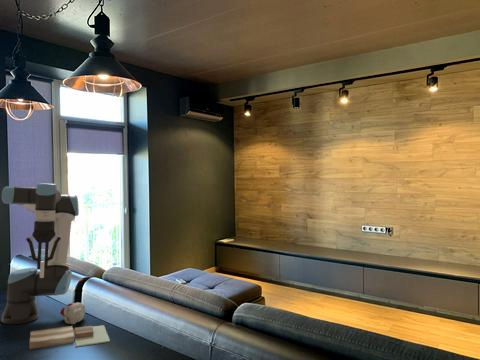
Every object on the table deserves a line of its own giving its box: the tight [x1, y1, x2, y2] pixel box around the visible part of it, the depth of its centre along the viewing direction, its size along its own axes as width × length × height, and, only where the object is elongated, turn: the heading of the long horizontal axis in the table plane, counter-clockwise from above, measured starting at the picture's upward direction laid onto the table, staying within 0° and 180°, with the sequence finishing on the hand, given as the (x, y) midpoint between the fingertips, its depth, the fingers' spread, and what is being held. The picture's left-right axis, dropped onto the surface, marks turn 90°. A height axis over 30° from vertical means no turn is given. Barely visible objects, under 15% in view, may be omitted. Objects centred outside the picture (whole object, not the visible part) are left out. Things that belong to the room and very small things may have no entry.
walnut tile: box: [74, 325, 94, 340], centre depth 156 cm, size 7×7×2 cm
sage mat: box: [73, 325, 111, 348], centre depth 156 cm, size 18×13×1 cm
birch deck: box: [29, 325, 75, 350], centre depth 150 cm, size 12×16×2 cm
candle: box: [60, 301, 86, 325], centre depth 171 cm, size 9×11×15 cm
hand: (41, 276), depth 149 cm, fingers closed
